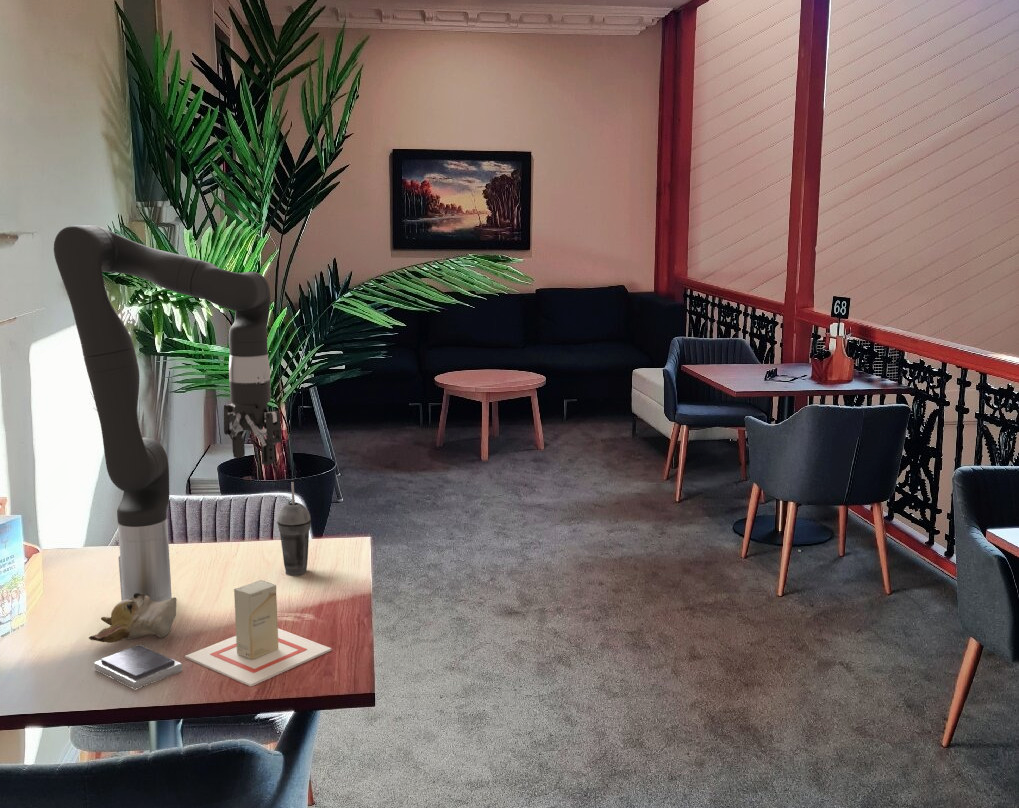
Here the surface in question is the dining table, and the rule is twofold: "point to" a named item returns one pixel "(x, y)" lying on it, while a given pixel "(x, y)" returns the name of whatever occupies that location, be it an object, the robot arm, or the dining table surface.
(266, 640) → the skincare box
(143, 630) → the ceramic sculpture
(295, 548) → the beverage cup
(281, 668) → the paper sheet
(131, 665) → the ink pad
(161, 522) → the robot arm
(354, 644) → the dining table surface
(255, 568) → the dining table surface
